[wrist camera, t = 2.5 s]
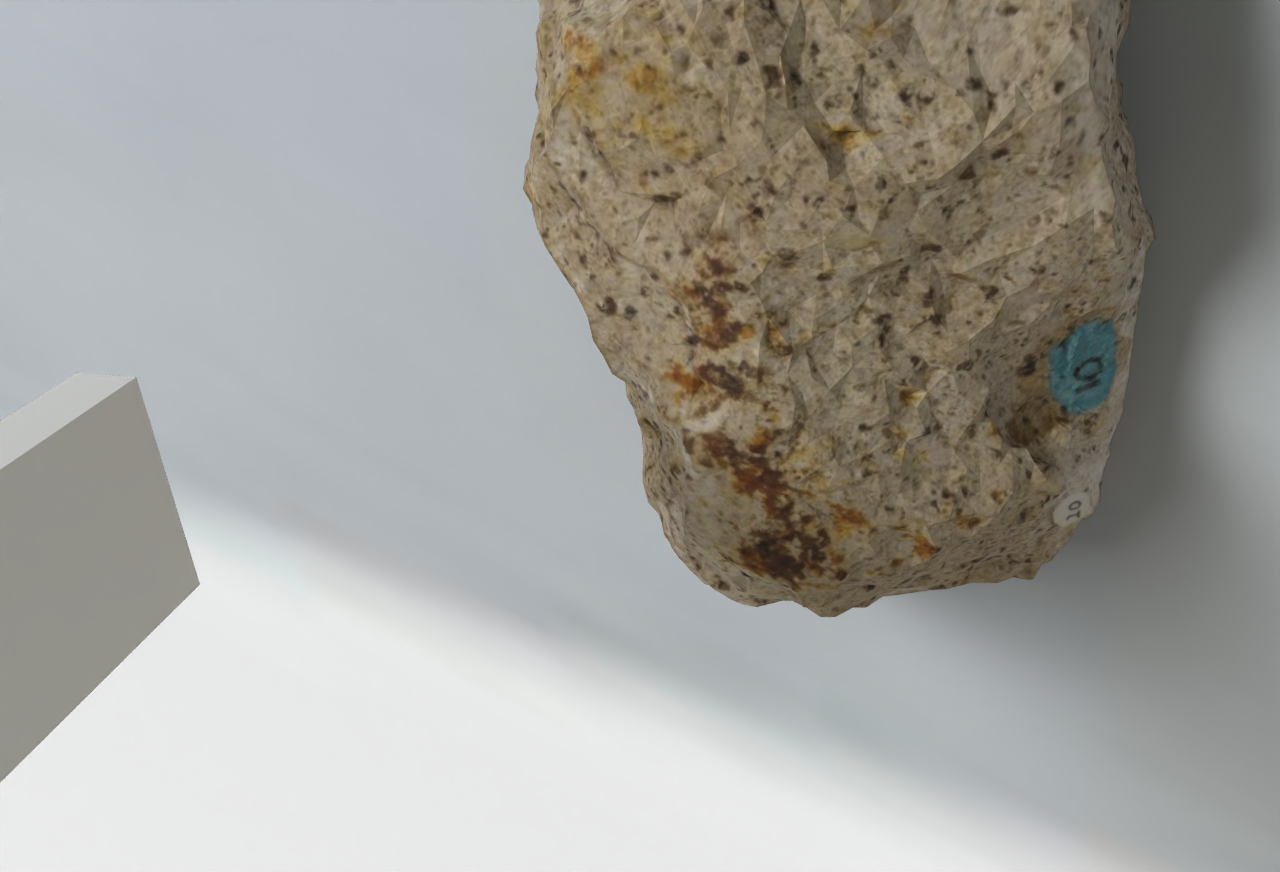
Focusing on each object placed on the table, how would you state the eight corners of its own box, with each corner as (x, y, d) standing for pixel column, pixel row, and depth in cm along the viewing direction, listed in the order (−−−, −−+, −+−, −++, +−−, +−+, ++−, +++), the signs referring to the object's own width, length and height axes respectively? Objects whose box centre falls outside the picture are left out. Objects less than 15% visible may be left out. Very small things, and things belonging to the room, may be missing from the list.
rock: (706, 533, 21) (646, 698, 17) (523, -114, 16) (385, -74, 12) (1158, 501, 18) (1199, 689, 15) (1107, -290, 13) (1151, -306, 10)
